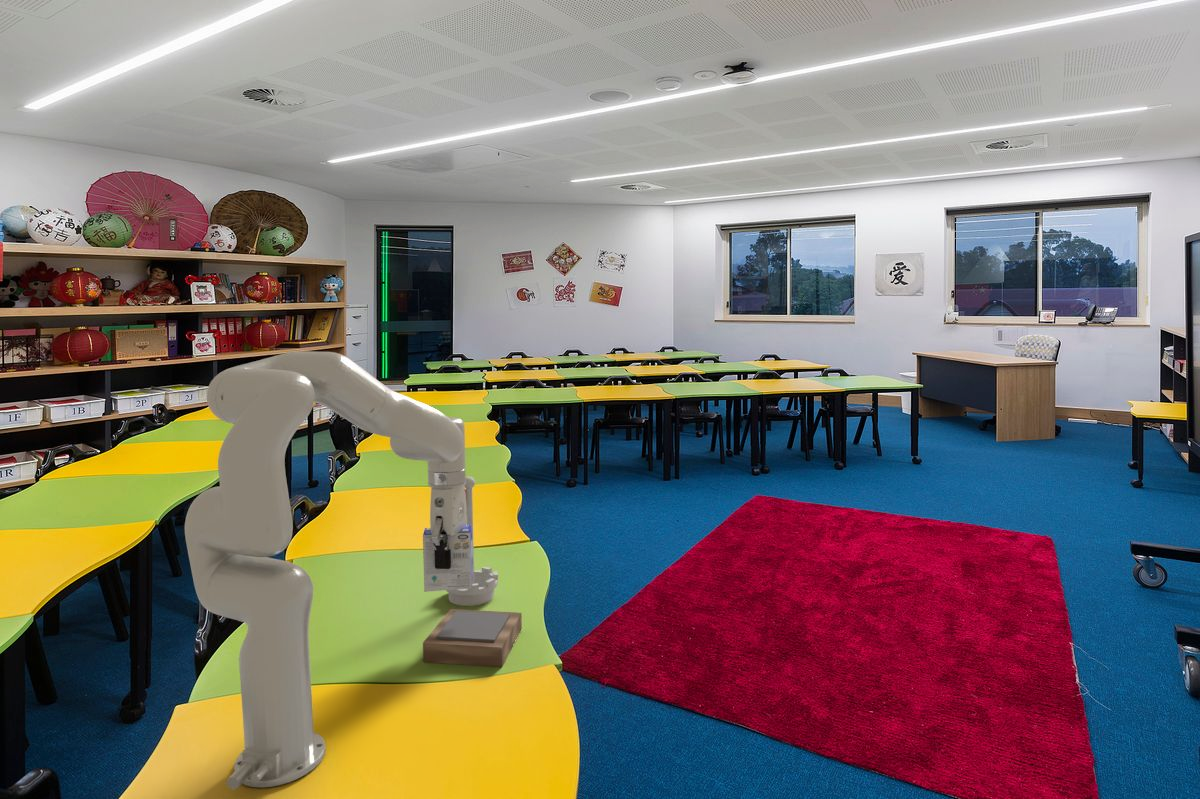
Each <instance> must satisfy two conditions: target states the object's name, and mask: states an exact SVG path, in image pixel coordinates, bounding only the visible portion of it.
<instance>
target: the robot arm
mask: <svg viewBox="0 0 1200 799" xmlns="http://www.w3.org/2000/svg"><path fill="white" fill-rule="evenodd" d="M206 403H207V406H208V408H209V410H210V411H211V413H212V414H213V415H214V416H215V417H216V418H218V419H219V420H220V421H223V422H225V423H228V424H233V425H232V427H231V428H230V429H229V431H228V432H227V434H226V436H225V438H224V439H223V442H222V444H221V447H220V450H219V453H218V459H217V470H218V480H219V486H214V487H210V488H208V489H206V490H204V491H202V492H200V494H198V496H196V498H194V499H193V501H192V503H190V506H189V508H188V511H187V513H186V516H185V522H184V536H185V543H186V549H187V554H188V561H189V565H190V569H191V570H190V571H191V575H192V579H193V586H194V589H195V593H196V595H197V598H198V601H199V603H200V604H201V606H202V607H203V608H204V609H205V610H206V611H208V612H210V613H212V614H215V615H218V616H221V617H223V618H227V619H231V620H234V621H235V620H236V621H238V622H241V623H245V625H247V632H246V634H245V635H246V636H245V637H244V639H243V642H242V644H241V647H240V650H239V654H238V655H239V658H238V661H239V662H238V666H239V667H238V668H239V677H240V678H239V679H240V692H241V694H240V695H241V710H242V711H241V712H242V723H243V738H244V739H243V740H244V749H243V750H242V751H241V753H240V754H239V755H238V756H237V757H236V760H235V762H234V767H233V770H234V772H233V773H232V774H231V775H230V776H229V777H228V778H227V779H226V786H227V787H228V788H229V789H230V790H233V791H235V790H238V788H239V787H240V786H241V785H244V786H247V787H250V788H251V787H252V788H262V789H263V788H271V787H277V786H282V785H285V784H289V783H291V782H294V781H295V780H299V778H302V777H303V776H306V775H307V774H308V773H310V772H311V771H313V770H315V768H316V767H317V766H319V764H320V762H322V761H323V759H324V756H325V754H326V742H325V739H324V738H323V736H322V735H320V734H318V733H317V732H314V718H313V700H312V699H313V698H312V697H313V695H312V679H311V678H312V675H311V659H310V638H309V633H310V618H311V611H312V604H313V600H314V584H313V581H312V579H311V576H310V575H309V574H308V572H307V571H306V570H305V569H304V568H303V567H301V566H300V565H297V564H296V563H294V562H293V563H292V562H290V561H287V560H282V559H279V558H278V559H277V558H272V557H273V556H276V555H278V554H280V553H282V552H284V550H285V549H287V547H288V546H289V544H290V543H291V541H292V537H293V529H294V527H293V526H294V524H293V514H292V509H291V503H290V502H291V500H290V496H289V495H290V494H289V488H288V483H287V476H286V466H285V464H286V462H285V458H286V451H287V448H288V446H289V444H290V441H291V440H292V438H293V437H294V435H295V433H296V432H297V430H298V429H299V428H300V426H301V425H302V424H303V423H304V422H305V421H306V419H307V418H308V417H309V415H310V414H311V412H312V409H313V407H314V404H319V405H322V406H323V407H325V408H327V409H329V410H330V411H332V412H333V413H335V414H337V415H339V416H340V417H341V418H343V419H345V421H346V420H347V421H348V422H350V423H351V424H353V425H355V427H357V428H358V429H360V430H363V431H366V432H367V433H371V434H375V435H377V436H382V437H387V438H389V445H390V449H391V450H392V452H393V453H394V454H395V455H397V457H400V458H402V459H404V460H405V459H406V460H413V461H420V462H421V461H423V462H427V482H428V483H427V485H428V487H429V488H431V489H430V490H431V491H430V501H429V502H430V504H429V505H430V508H429V511H430V512H429V523H430V524H429V528H431V534H432V541H433V544H434V552H435V568H436V569H450V568H451V549H449V542H450V535H451V536H452V537H453V536H455V535H456V534H457V533H458V532H459V531H460V530H461V529H462V528H463V527H465V526H466V525H467V505H466V493H465V489H466V488H465V486H464V485H465V484H466V477H467V476H466V438H465V436H466V434H465V433H466V431H465V423H464V421H463V419H461V417H460V418H459V417H456V416H455V417H454V416H447V415H445V413H443V412H441V411H439V410H438V409H436V408H434V407H432V406H430V405H428V404H426V403H423V402H421V401H418V400H415V399H413V398H411V397H410V396H407V395H405V394H402V393H399V392H397V391H395V390H393V389H390V388H389V387H388V386H386V385H385V384H383V383H382V382H381V381H379V380H378V379H377V378H375V376H373V375H372V374H370V373H369V372H368V371H367V370H366V369H364V368H362V366H360V365H358V364H357V363H356V362H355V361H353V360H352V359H350V358H348V357H347V356H345V355H343V354H342V353H337V352H335V351H311V350H309V351H306V350H305V351H304V350H300V351H299V350H298V351H297V350H295V351H291V352H290V351H289V352H285V353H282V354H277V355H273V356H270V357H265V358H262V359H260V360H256V361H251V362H248V363H243V364H240V365H236V366H233V367H230V368H227V369H225V370H223V371H221V372H219V373H218V374H217V375H215V376H214V377H213V379H211V381H210V382H209V385H208V387H207V390H206ZM441 532H446V533H447V534H441ZM441 538H446V539H445V543H444V541H443V540H441Z"/></svg>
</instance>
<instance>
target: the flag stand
mask: <svg viewBox="0 0 1200 799" xmlns="http://www.w3.org/2000/svg"><path fill="white" fill-rule="evenodd" d="M464 486H465V493H466V505H467V524H466V525H471V528H472V545H473V583H472V588H470V589H456V590H445V591H446V592H447V594H448V601H449V602H450V603H451V604H453V605H457V606H463V607H464V606H465V607H467V606H468V607H471V606H473V607H474V606H478V605H482V604H486V603H488V602H491V600H493V598H494V597H495V589H496V588H497V587H498V585H499V573H498V571H496V570H495V571H492V569H493V568H492V567H489V566H482V567H481V570H475V557H474V554H475V552H474V550H475V549H474V548H475V547H474V512H473V511H474V509H473V508H474V507H473V506H474V505H473V504H474V503H473V500H474V499H473V488H474V487H475V486H476V480H475V479H474V477H472V476H466V484H465V485H464Z"/></svg>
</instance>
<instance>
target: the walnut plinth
mask: <svg viewBox="0 0 1200 799" xmlns="http://www.w3.org/2000/svg"><path fill="white" fill-rule="evenodd" d="M522 614H523V613H522V612H516V611H500V610H498V611H497V610H495V611H494V610H479V609H477V610H475V609H461V608H460V609H458V608H457V609H456V608H450V609H449V610H448V611H447V613H446V614H445V615H444V617H443V618H441V620H440V621H439V623H437V625H436V626H435V627H434V628H433V630H432V631H431V632H430V633H429V635H427V637H426V638H425V639H424V641H423V642H422V658H423V663H434V664H450V665H462V666H463V665H467V666H478V667H479V666H480V667H496V668H503V667H504V664H505V662H506V661H507V658H508V657H509V655H510V653H511V651H512V650H511V649H513V648H514V646H513V644H514V643H515V644H516V642H515V640H516V639H517V640H518V638H517V637H519V636H520V635H519V633H520V631H521V629H523V627H522V626H523V625H522V623H523V622H522V621H523V620H522V617H523V616H522ZM521 632H522V631H521ZM520 634H521V633H520ZM518 635H519V636H518ZM517 640H516V641H517ZM515 644H514V645H515ZM512 647H513V648H512Z"/></svg>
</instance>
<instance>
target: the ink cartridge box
mask: <svg viewBox="0 0 1200 799" xmlns="http://www.w3.org/2000/svg"><path fill="white" fill-rule="evenodd" d="M441 534H447V533H446V532H441ZM445 539H446V538H441V540H443V541H444V543H445ZM449 549H451V568H450V569H436V568H435V552H434V544H433V541H432V534H431V527H425V528H424V531H423V534H422V550H423V552H422V553H423V554H422V555H423V556H422V557H423V558H422V559H423V582H424V583H423V584H424V585H423V586H424V587H423V589H424V590H423V591H424V592H428V593H429V592H440V591H446V590H456V589H470V588H472V583H473V545H472V528H471V525H467V524H466V526H465V527H463V528H462V529H461V530H460V531H459V532H458V533H457V534H456V535H455V536H453V537H452V536H451V535H450V542H449Z"/></svg>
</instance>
